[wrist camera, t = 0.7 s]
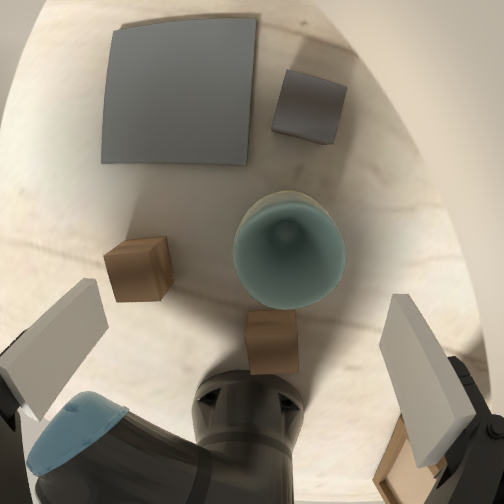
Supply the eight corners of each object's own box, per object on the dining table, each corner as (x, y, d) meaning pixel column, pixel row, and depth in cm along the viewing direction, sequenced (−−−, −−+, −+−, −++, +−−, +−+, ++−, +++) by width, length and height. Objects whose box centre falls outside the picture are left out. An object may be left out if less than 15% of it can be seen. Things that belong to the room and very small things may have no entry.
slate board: (246, 165, 28) (245, 165, 27) (106, 163, 28) (101, 164, 27) (256, 22, 23) (256, 18, 22) (117, 33, 24) (113, 31, 23)
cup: (306, 172, 28) (324, 183, 18) (334, 245, 30) (360, 287, 20) (231, 203, 29) (212, 229, 20) (263, 272, 31) (259, 325, 22)
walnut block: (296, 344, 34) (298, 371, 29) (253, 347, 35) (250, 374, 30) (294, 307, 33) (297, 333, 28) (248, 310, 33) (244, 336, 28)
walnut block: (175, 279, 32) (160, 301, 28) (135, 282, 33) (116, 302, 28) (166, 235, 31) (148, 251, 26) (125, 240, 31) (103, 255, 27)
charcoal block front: (322, 144, 27) (333, 143, 22) (271, 130, 27) (271, 126, 22) (334, 97, 25) (347, 87, 21) (284, 82, 25) (286, 69, 20)
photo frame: (371, 476, 45) (391, 575, 21) (397, 413, 38) (443, 547, 14) (433, 459, 44) (464, 546, 20) (470, 392, 37) (530, 498, 13)
